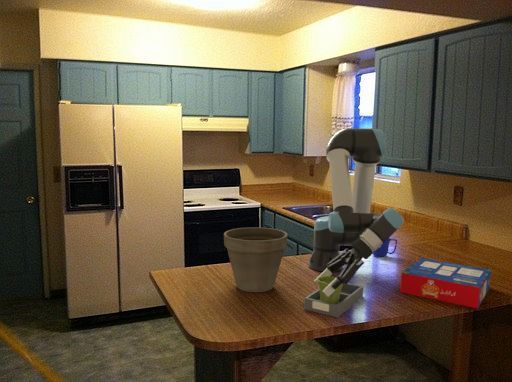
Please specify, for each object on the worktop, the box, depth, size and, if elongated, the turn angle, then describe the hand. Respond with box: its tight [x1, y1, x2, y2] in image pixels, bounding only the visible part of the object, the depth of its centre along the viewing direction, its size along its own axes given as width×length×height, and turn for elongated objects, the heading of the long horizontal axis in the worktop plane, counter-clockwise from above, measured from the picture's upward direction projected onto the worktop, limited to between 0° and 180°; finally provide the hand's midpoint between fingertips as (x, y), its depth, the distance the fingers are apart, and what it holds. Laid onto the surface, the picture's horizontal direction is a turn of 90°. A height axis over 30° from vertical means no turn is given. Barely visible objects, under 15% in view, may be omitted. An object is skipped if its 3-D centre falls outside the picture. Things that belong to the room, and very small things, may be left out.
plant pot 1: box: [223, 227, 288, 293], centre depth 183 cm, size 25×25×22 cm
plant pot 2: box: [316, 275, 343, 305], centre depth 163 cm, size 9×9×9 cm
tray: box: [303, 282, 364, 318], centre depth 168 cm, size 13×25×4 cm, turn 148°
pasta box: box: [399, 257, 492, 309], centre depth 185 cm, size 28×8×28 cm
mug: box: [372, 237, 398, 258], centre depth 234 cm, size 8×12×10 cm
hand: (320, 288), depth 162 cm, fingers open, 10 cm apart
